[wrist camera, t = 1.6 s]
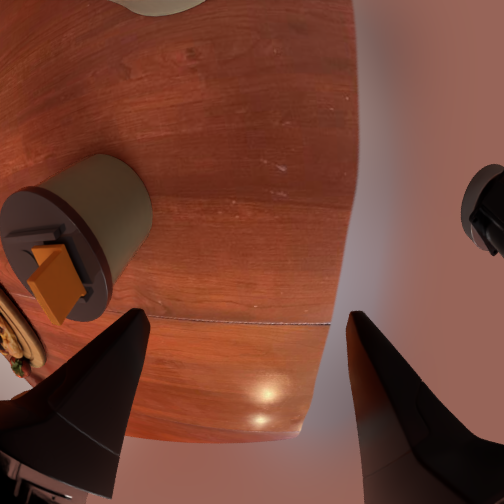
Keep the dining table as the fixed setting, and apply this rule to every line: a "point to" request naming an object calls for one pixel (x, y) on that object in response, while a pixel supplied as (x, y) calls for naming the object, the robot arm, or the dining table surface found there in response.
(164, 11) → the can
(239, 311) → the dining table surface
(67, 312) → the slider
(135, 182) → the round container with rails
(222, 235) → the dining table surface
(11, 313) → the wooden plate
